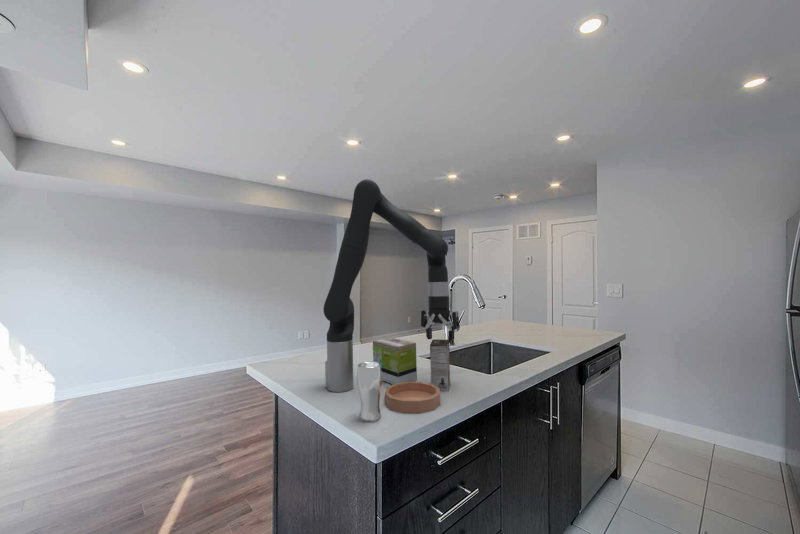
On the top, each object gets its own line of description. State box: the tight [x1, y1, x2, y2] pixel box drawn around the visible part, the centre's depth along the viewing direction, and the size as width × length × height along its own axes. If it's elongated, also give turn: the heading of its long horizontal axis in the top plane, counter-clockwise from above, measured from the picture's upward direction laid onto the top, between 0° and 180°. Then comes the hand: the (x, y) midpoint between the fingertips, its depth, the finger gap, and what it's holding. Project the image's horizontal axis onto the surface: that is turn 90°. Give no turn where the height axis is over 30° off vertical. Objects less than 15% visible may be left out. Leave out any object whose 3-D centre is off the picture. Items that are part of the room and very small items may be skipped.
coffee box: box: [429, 339, 451, 392], centre depth 119 cm, size 9×6×16 cm
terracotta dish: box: [384, 381, 441, 414], centre depth 105 cm, size 17×17×4 cm
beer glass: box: [356, 360, 383, 423], centre depth 95 cm, size 7×7×15 cm
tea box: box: [372, 336, 418, 385], centre depth 128 cm, size 15×10×15 cm
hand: (440, 340), depth 119 cm, fingers open, 8 cm apart
